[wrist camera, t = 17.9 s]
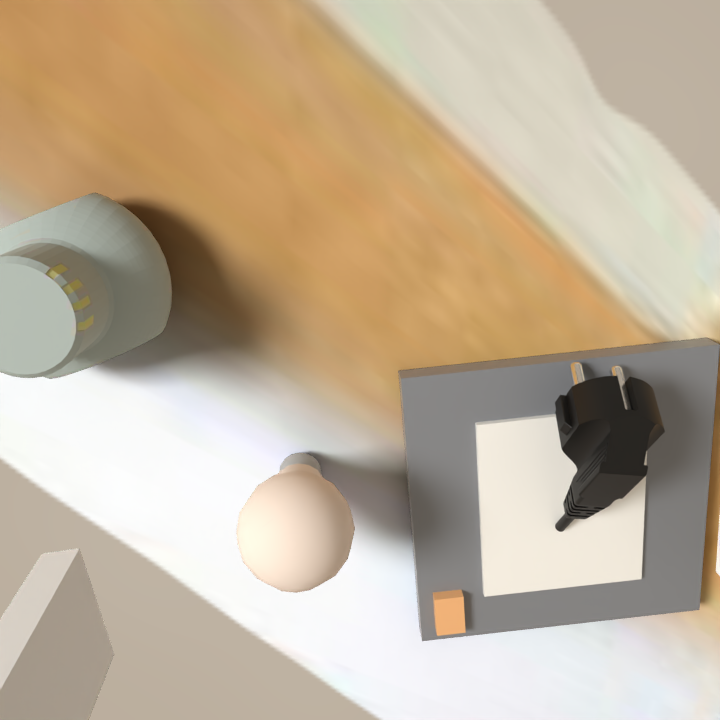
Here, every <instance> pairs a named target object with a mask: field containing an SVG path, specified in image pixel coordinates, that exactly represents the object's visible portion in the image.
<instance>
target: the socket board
mask: <svg viewBox="0 0 720 720" xmlns="http://www.w3.org/2000/svg"><path fill="white" fill-rule="evenodd" d="M719 348H720V344H718V343H716V342H714V341H712V340H710V339H708V338H700V339H691V340H681V341H672V342H663V343H653V344H644V345H634V346H625V347H616V348H606V349H597V350H587V351H578V352H569V353H559V354H550V355H541V356H531V357H522V358H512V359H503V360H494V361H484V362H475V363H465V364H456V365H447V366H437V367H428V368H419V369H409V370H400V371H398V372H399V384H400V396H401V408H402V420H403V432H404V445H405V457H406V469H407V481H408V493H409V505H410V518H411V530H412V542H413V554H414V566H415V578H416V590H417V603H418V615H419V627H420V632H421V637H422V641H427V640H436V639H445V638H454V637H463V636H471V635H480V634H489V633H498V632H507V631H516V630H525V629H533V628H542V627H551V626H560V625H569V624H578V623H587V622H595V621H604V620H613V619H622V618H631V617H640V616H649V615H658V614H666V613H675V612H684V611H693V610H699V607H700V594H701V581H702V568H703V555H704V543H705V530H706V517H707V504H708V491H709V478H710V465H711V452H712V439H713V426H714V413H715V400H716V387H717V374H718V361H719ZM574 362H579V363H580V364H582V367H583V371H584V376H585V381H586V380H589V379H593V378H598V377H604V376H611V375H610V369H611V367H612V366H615V365H618V366H620V367H621V368H622V369H623V373H624V377H625V381H627V379H628V378H629V377H634V378H638V379H641V380H643V381H645V382H647V383H648V384H649V385H650V386H651V387H652V388H653V390H654V394H655V397H656V401H657V404H658V408H659V412H660V415H661V419H662V423H663V426H664V430H665V432H664V433H663V434H662V435H661V436H660V437H659V438H658V440H657V441H656V442H655V443H654V444H653V445H652V446H651V447H650V448H649V449H648V450H647V451H646V457H645V462H644V465H647V466H648V471H647V475H646V476H645V477H644V478H643V479H642V480H641V481H640V482H639V483H638V484H637V485H636V486H635V487H634V488H633V489H632V490H631V491H630V492H629V493H628V494H627V495H626V496H625V497H624V498H623V499H617V500H615V501H614V502H613V503H612V504H611V505H610V506H609V507H607V508H605V509H603V510H601V511H600V512H598V513H595V514H594V515H592V516H590V517H589V518H587V519H574V520H573V521H572V522H571V523H570V525H569V526H568V527H567V528H566V529H565V530H564V531H563V532H559V531H557V530H556V528H555V524H556V523H557V522H558V521H559V519H560V518H561V517H562V516H563V515H564V514H565V512H564V505H563V502H564V500H565V498H566V495H567V492H568V490H569V487H570V485H571V482H572V479H573V477H574V475H575V474H576V473H577V467H576V465H575V464H574V463H573V462H572V461H571V460H570V459H569V458H568V457H567V456H566V455H565V453H564V452H563V451H562V449H561V443H560V437H559V431H558V425H557V420H556V414H555V411H556V407H555V402H556V400H557V399H558V397H559V396H560V395H566V394H567V393H568V391H569V390H570V388H571V387H572V386H573V384H572V379H571V373H570V365H571V364H572V363H574Z"/></svg>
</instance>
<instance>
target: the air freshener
mask: <svg viewBox="0 0 720 720" xmlns="http://www.w3.org/2000/svg"><path fill="white" fill-rule="evenodd" d="M171 301H172V285H171V277H170V272H169V268H168V265H167V262H166V258H165V256H164V254H163V252H162V250H161V248H160V246H159V244H158V242H157V241H156V239H155V238H154V236H153V235H152V233H151V232H150V230H149V229H148V228H147V227H146V226H145V225H144V224H143V223H142V222H141V221H140V220H139V218H138V217H136V216H135V215H134V214H133V213H131V212H130V211H129V210H128V209H126V208H125V207H124V206H122V205H120V204H119V203H117V202H115V201H113V200H112V199H110V198H108V197H106V196H103V195H101V194H98V193H92V194H89V195H86V196H83V197H80V198H77V199H75V200H72V201H69V202H67V203H64V204H61V205H59V206H56V207H54V208H51V209H49V210H46V211H43V212H41V213H38V214H36V215H33V216H31V217H28V218H26V219H23V220H21V221H19V222H16V223H14V224H11V225H9V226H6V227H4V228H2V229H0V372H1V373H4V374H7V375H10V376H15V377H21V378H35V377H42V376H43V377H46V378H49V379H52V378H58V377H62V376H66V375H69V374H72V373H75V372H78V371H81V370H84V369H86V368H89V367H92V366H94V365H97V364H99V363H102V362H104V361H107V360H109V359H112V358H114V357H116V356H119V355H121V354H123V353H125V352H127V351H130V350H132V349H134V348H136V347H138V346H140V345H142V344H144V343H146V342H148V341H149V340H151V339H153V338H155V337H156V336H158V335H159V334H161V333H162V332H163V331H164V328H165V326H166V324H167V321H168V318H169V313H170V309H171Z"/></svg>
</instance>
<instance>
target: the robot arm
mask: <svg viewBox="0 0 720 720" xmlns="http://www.w3.org/2000/svg"><path fill="white" fill-rule="evenodd" d="M716 572H717V574H718V575H719V576H720V517H719V532H718V547H717V562H716ZM113 656H114V652H113V649H112V646H111V643H110V640H109V637H108V634H107V631H106V628H105V625H104V621H103V618H102V615H101V612H100V610H99V606H98V603H97V600H96V597H95V594H94V591H93V588H92V585H91V582H90V579H89V576H88V573H87V570H86V567H85V563H84V560H83V557H82V554H81V551H80V549H71V550H64V551H57V552H50V553H43V554H41V556H40V558H39V559H38V561H37V562H36V564H35V565H34V567H33V568H32V570H31V572H30V573H29V575H28V576H27V578H26V579H25V581H24V583H23V584H22V586H21V587H20V589H19V590H18V592H17V594H16V595H15V597H14V598H13V600H12V602H11V603H10V605H9V606H8V608H7V609H6V611H5V612H4V614H3V616H2V617H1V619H0V720H89V718H90V716H91V713H92V710H93V708H94V705H95V703H96V700H97V698H98V695H99V692H100V690H101V687H102V685H103V682H104V680H105V677H106V674H107V672H108V669H109V666H110V664H111V661H112V659H113Z"/></svg>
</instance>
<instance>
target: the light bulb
mask: <svg viewBox="0 0 720 720" xmlns="http://www.w3.org/2000/svg"><path fill="white" fill-rule="evenodd" d="M354 530H355V527H354V523H353V519H352V514H351V510H350V508H349V505H348V503H347V501H346V499H345V498H344V497H343V495H342V494H341V493H340V492H339V490H338V489H337V488H336V486H335V485H334V484H333V483H331V482H329V481H327V480H326V479H324V478H323V476H322V475H321V467H320V464H319V463H318V461H317V460H316V459H315V458H314V457H312V456H311V455H309V454H305V453H296V454H292V455H290V456H288V457H287V458H285V460H284V461H283V463H282V464H281V466H280V472H279V473H278V474H277V475H274V476H272V477H271V478H269V479H268V480H266V481H264V482H263V483H261V484H260V485H258V486H257V487H256V489H255V490H254V492H253V493H252V495H251V496H250V498H249V499H248V500H247V502H246V503H245V505H244V506H243V508H242V509H241V511H240V513H239V519H238V526H237V542H238V547H239V550H240V553H241V556H242V560H243V562H244V564H245V565H246V566H247V567H248V568H249V569H250V571H251V572H252V573H253V574H254V575H255V576H256V578H257V579H259V580H261V581H263V582H264V583H266V584H269V585H271V586H273V587H275V588H277V589H279V590H281V591H286V592H302V591H307V590H311V589H313V588H315V587H317V586H319V585H320V584H322V583H324V582H325V581H327V580H329V579H331V578H332V577H334V576H335V575H336V574H337V573H338V571H339V570H340V569H341V567H342V566H343V564H344V563H345V562H346V560H347V559H348V556H349V552H350V549H351V544H352V539H353V535H354Z"/></svg>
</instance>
